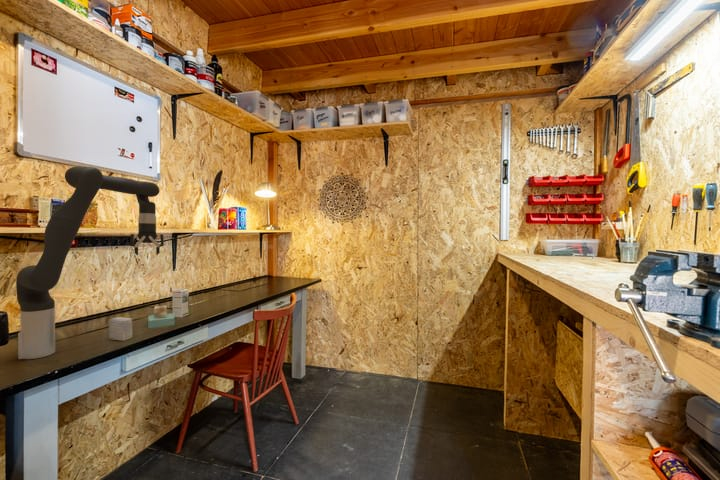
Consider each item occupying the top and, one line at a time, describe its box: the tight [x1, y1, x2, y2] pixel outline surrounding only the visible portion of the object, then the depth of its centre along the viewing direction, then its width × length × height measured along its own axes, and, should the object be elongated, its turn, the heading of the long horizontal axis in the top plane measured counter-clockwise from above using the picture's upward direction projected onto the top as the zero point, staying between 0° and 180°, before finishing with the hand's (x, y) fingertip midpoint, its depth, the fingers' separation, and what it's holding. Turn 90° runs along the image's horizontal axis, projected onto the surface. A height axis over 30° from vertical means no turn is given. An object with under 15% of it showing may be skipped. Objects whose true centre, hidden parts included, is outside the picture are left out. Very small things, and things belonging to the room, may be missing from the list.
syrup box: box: [172, 288, 190, 318], centre depth 182 cm, size 6×6×14 cm
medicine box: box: [108, 316, 133, 342], centre depth 144 cm, size 8×4×9 cm, turn 74°
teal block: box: [147, 312, 176, 329], centre depth 166 cm, size 11×11×4 cm
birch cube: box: [153, 305, 168, 319], centre depth 166 cm, size 5×5×5 cm
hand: (147, 254), depth 168 cm, fingers open, 8 cm apart
